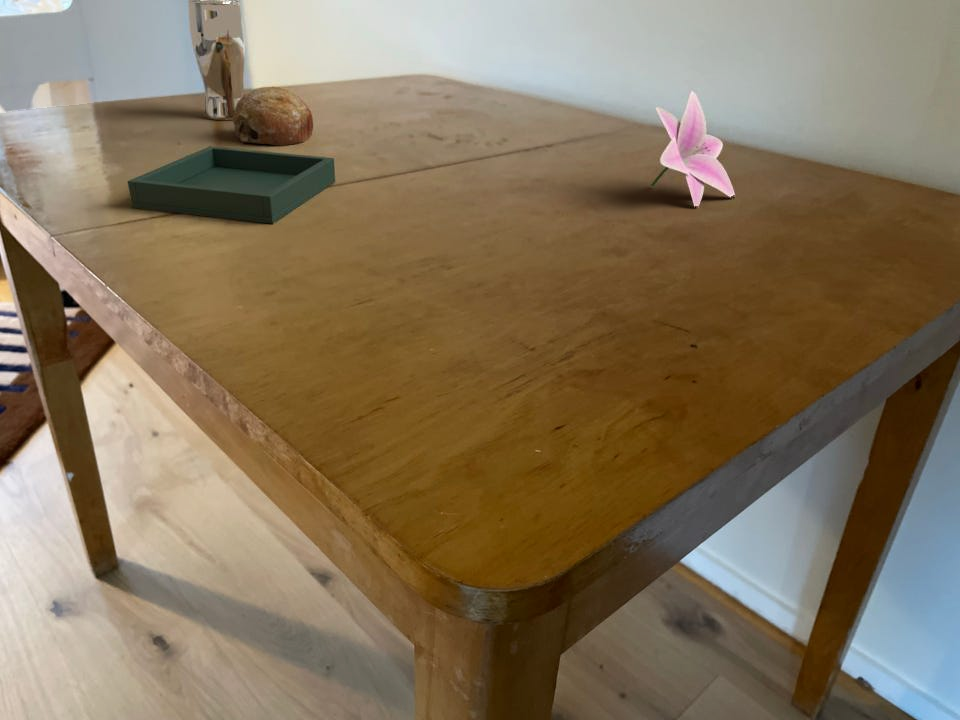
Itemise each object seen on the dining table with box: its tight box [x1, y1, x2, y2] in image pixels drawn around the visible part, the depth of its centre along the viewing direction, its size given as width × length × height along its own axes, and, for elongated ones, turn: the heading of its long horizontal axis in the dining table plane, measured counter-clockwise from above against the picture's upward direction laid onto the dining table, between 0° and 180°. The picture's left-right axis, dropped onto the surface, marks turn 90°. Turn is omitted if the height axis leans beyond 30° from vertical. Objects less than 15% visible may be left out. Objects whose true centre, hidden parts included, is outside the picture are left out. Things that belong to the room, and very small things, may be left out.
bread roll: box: [232, 86, 314, 147], centre depth 100 cm, size 10×10×8 cm
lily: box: [650, 91, 736, 207], centre depth 82 cm, size 12×12×10 cm
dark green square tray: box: [127, 145, 336, 225], centre depth 78 cm, size 15×15×3 cm
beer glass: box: [187, 0, 246, 121], centre depth 108 cm, size 7×7×15 cm
